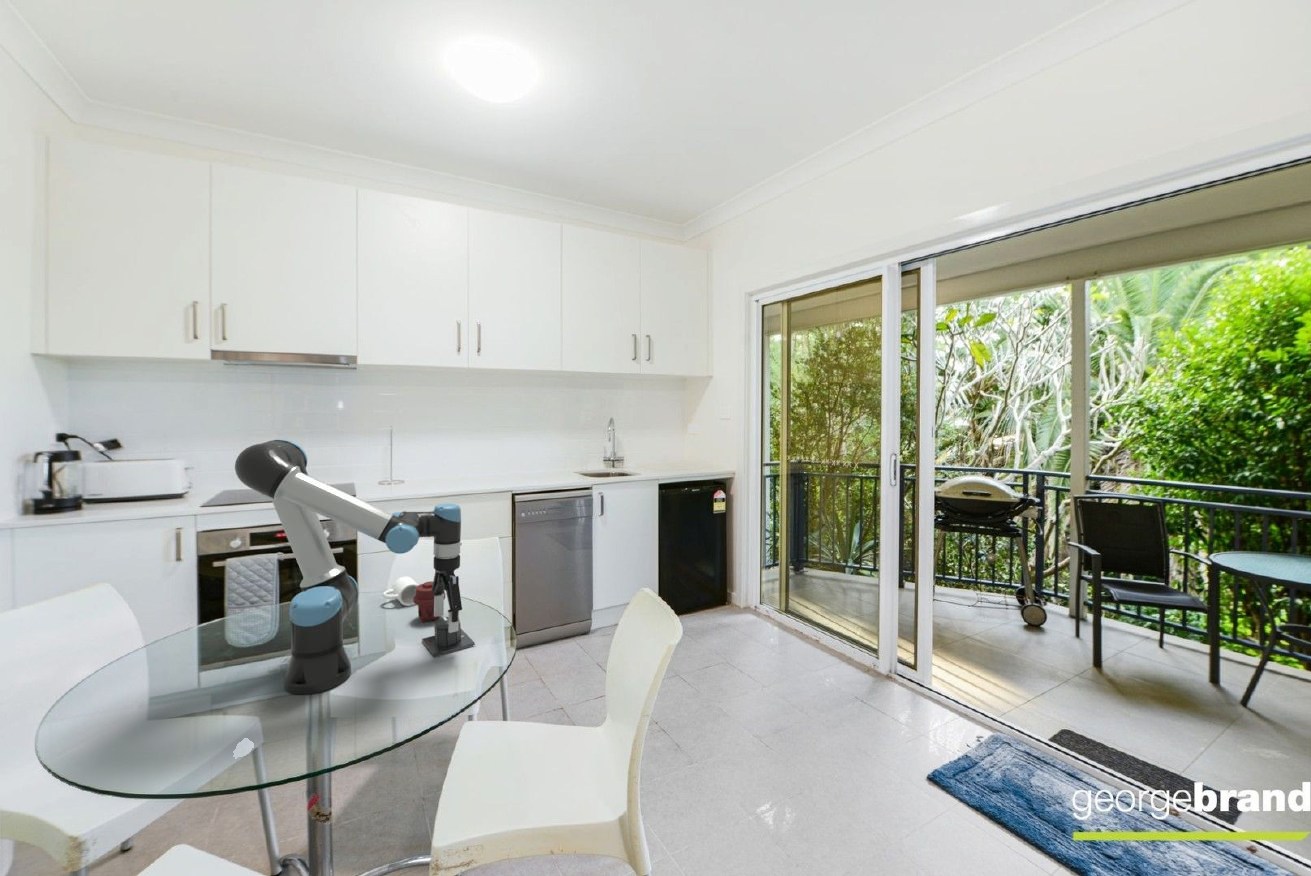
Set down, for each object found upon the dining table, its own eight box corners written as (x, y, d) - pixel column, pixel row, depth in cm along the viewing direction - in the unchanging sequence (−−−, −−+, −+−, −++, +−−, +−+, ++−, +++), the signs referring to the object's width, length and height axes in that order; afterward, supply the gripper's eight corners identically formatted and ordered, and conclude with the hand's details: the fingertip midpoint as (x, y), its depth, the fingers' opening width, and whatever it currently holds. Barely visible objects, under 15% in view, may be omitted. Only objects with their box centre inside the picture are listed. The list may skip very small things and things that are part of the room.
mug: (414, 594, 204) (414, 574, 203) (423, 603, 196) (422, 581, 196) (380, 602, 196) (379, 581, 196) (387, 611, 189) (386, 589, 188)
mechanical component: (423, 611, 189) (450, 613, 188) (407, 623, 179) (436, 625, 178) (422, 577, 188) (450, 579, 187) (406, 587, 178) (435, 589, 177)
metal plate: (434, 657, 157) (433, 640, 157) (422, 641, 167) (421, 626, 166) (474, 645, 165) (474, 629, 164) (461, 631, 174) (460, 616, 174)
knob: (463, 641, 165) (462, 621, 164) (440, 648, 161) (439, 628, 160) (455, 632, 170) (454, 613, 170) (432, 639, 166) (431, 620, 165)
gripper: (474, 564, 156) (473, 635, 158) (446, 543, 175) (445, 606, 177) (448, 568, 151) (446, 642, 153) (421, 546, 171) (421, 611, 172)
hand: (445, 623), depth 165 cm, fingers open, 13 cm apart
